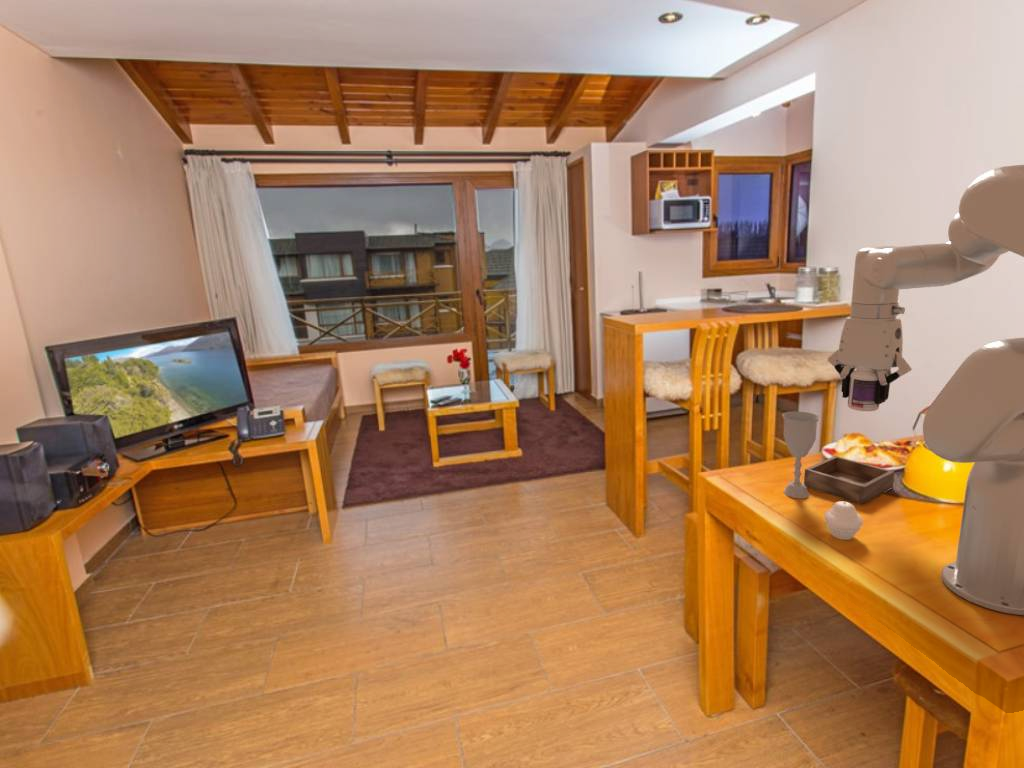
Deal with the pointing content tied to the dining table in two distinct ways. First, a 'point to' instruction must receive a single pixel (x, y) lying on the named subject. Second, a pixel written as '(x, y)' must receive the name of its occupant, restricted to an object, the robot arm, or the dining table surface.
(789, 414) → the chalice
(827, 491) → the walnut box
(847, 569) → the dining table surface
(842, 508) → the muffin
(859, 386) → the pill bottle
